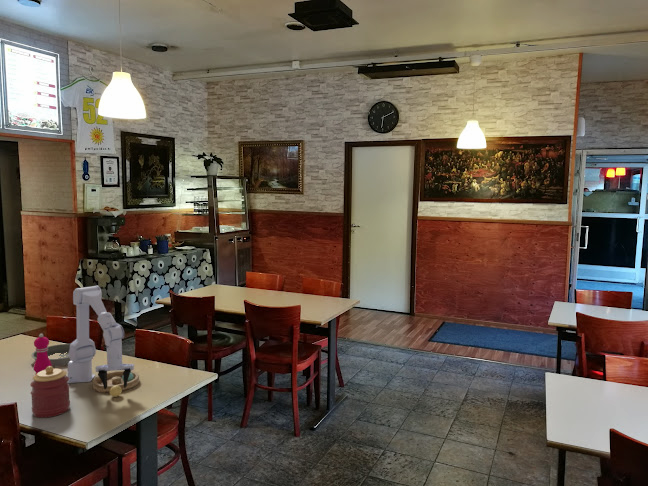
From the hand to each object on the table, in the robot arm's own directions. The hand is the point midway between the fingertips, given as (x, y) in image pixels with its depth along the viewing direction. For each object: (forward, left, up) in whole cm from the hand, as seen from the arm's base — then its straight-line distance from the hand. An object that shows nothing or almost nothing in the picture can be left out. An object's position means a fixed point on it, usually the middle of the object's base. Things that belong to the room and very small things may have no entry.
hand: (115, 387), depth 203 cm
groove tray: (-3, +14, -4) cm, 14 cm away
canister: (-21, -10, -4) cm, 24 cm away
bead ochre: (0, 0, -4) cm, 4 cm away
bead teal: (+2, +13, -3) cm, 14 cm away
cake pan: (-39, +52, -4) cm, 65 cm away
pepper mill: (-38, +28, -4) cm, 47 cm away
